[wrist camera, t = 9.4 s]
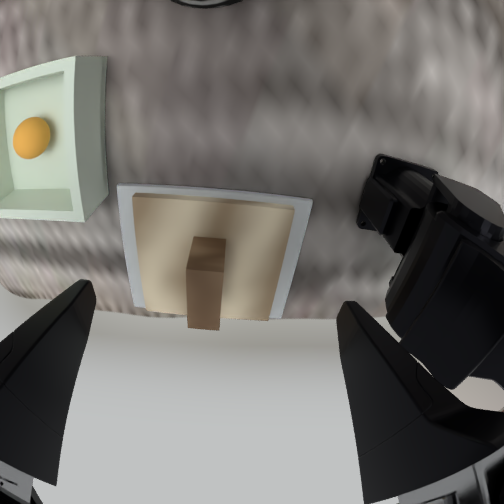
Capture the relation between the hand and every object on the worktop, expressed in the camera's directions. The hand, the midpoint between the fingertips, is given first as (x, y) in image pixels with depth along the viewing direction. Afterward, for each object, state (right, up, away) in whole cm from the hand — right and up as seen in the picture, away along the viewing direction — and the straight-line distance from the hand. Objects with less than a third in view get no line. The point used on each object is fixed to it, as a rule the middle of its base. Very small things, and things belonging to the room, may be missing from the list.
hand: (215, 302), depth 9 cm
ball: (-15, +10, +5) cm, 19 cm away
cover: (-2, +1, +15) cm, 15 cm away
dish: (-15, +11, +7) cm, 20 cm away
